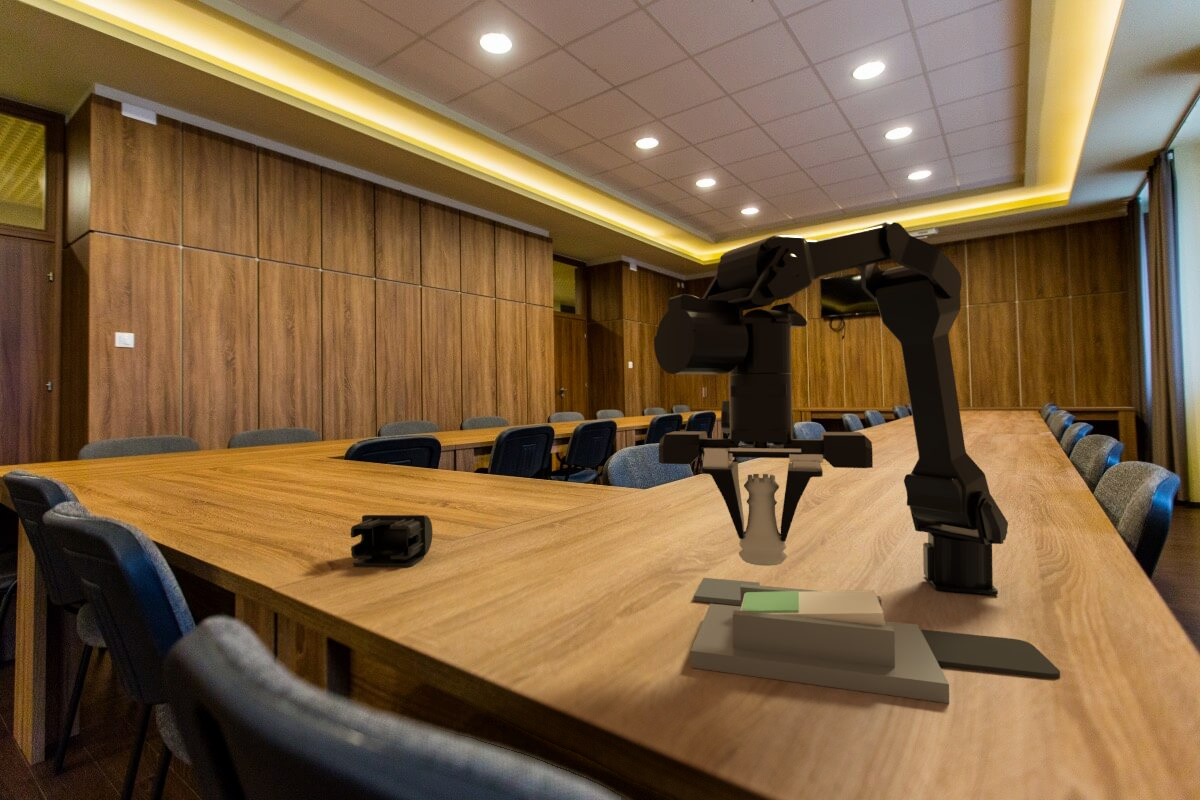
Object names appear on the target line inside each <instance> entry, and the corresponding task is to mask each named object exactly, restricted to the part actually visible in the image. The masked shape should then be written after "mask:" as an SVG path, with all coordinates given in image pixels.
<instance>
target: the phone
mask: <svg viewBox="0 0 1200 800" xmlns="http://www.w3.org/2000/svg"><path fill="white" fill-rule="evenodd" d="M920 630H921V632H922V634H923V636H924V637H925V639H926V641H927V643H928V645H929V647H930V649H931V651H932V653H933V655H934V656H935V658H936V660H937V662H938V664H939V666H940V668H945V669H954V670H955V669H956V670H963V671H974V672H982V673H992V674H1002V675H1010V676H1018V677H1019V676H1020V677H1028V678H1029V677H1030V678H1039V679H1049V680H1056V679H1057V680H1058V679H1060V678H1061V671H1060V669H1059V668H1058V667H1057V666H1055V664H1054V663H1052V661H1051V660H1050V659H1048V658H1047V656H1045V655H1044V654H1043V653H1042V652H1041V651H1040V650H1039V649H1038V648H1037V647H1036V646H1035V645H1033V644H1032V643H1030V642H1028V641H1026V640H1021V639H1017V638H1011V637H1010V638H1009V637H999V636H990V635H982V634H981V635H979V634H970V633H962V632H961V633H960V632H951V631H941V630H930V629H922V628H920Z"/></svg>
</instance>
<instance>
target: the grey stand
mask: <svg viewBox="0 0 1200 800" xmlns="http://www.w3.org/2000/svg"><path fill="white" fill-rule="evenodd" d="M740 590H741V606H742V602H743V598H744V594H745V593H746V592H777V591H799V592H808V591H817V590H815V589H814V590H813V589H805V588H804V589H803V588H792V587H782V586H781V587H779V586H767V585H761V584H760V585H748V584H741V587H740ZM876 596H877V598H878V601H879V603H880V606H881V607H882V598H881V596H880V595H876ZM741 606H740V605H730V604H720V603H709V605H708V608H707V611H706V612H705V615H704V617H703V620H702V623H701V624H700V627H699V630H698V632H697V635H696V637H695V639H694V642H693V644H692V647H691V649H690V668H691V669H692V668H693V669H699V670H707V671H714V672H719V673H728V674H736V675H741V676H742V675H743V676H749V677H756V678H764V679H770V680H777V681H787V682H791V683H799V684H800V683H801V684H807V685H814V686H815V685H816V686H821V687H827V688H835V689H837V688H838V689H842V690H851V691H857V692H863V693H864V692H865V693H872V694H878V695H879V694H880V695H885V696H893V697H900V698H908V699H914V700H915V699H916V700H921V701H930V702H935V703H945V704H950V683H949V681H948V680H947V678H946V676H945V673H944V672H943V670H942V667H940V666H939V664H938V662H937V660H936V658H935V656H934V655H933V653H932V651H931V649H930V647H929V645H928V643H927V641H926V639H925V637H924V636H923V634H922V632H921V630H920V629H921V628H920V627H919V624H914V623H906V622H897V621H886V620H885V626H882V625H873V624H863V623H853V622H843V621H834V620H824V619H814V618H805V617H795V616H785V615H776V614H766V613H756V612H747V611H740V610H741Z"/></svg>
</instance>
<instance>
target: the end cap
mask: <svg viewBox="0 0 1200 800" xmlns="http://www.w3.org/2000/svg"><path fill="white" fill-rule="evenodd" d="M358 536H360V537H361V538H360V541H359V542H358V543H356V544H354V545H351V547H350V551H351V558H353V559H356V560H355V561H353V562H352V563H353V564H352V566H353V567H354V568H358V567H359V568H401V569H402V568H407V569H408V568H412V567H414V566H415V565H417V564H419V563H420V562H422V561H423V560H424V558H425V557H426V555H427V554H428V553H429V550H430V548H431V547H432V546H431V545H432V541H433V524H432V521H431V519H430V517H429V516H428V515H425V514H364V515H362V516H361V522H359V523H357V524H355V525H353V526H351V528H350V538H351V539H352V538H353V539H354V538H357V537H358Z"/></svg>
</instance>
